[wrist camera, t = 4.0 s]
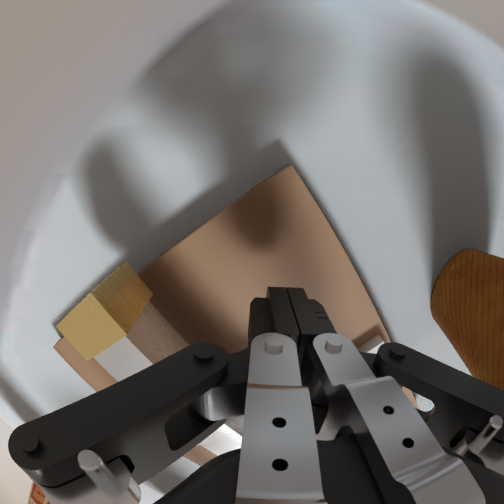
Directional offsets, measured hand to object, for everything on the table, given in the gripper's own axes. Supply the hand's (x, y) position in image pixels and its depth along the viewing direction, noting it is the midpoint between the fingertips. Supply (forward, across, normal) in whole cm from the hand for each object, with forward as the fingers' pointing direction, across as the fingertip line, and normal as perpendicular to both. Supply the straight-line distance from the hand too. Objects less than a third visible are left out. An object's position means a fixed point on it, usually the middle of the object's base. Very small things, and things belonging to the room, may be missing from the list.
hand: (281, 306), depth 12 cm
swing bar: (+1, +4, +5) cm, 7 cm away
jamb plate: (+4, 0, +10) cm, 10 cm away
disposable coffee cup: (+4, -14, +1) cm, 15 cm away
